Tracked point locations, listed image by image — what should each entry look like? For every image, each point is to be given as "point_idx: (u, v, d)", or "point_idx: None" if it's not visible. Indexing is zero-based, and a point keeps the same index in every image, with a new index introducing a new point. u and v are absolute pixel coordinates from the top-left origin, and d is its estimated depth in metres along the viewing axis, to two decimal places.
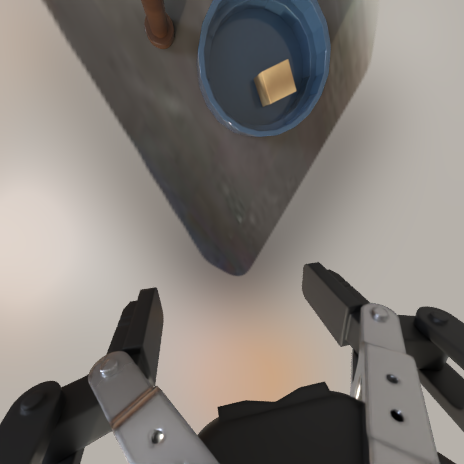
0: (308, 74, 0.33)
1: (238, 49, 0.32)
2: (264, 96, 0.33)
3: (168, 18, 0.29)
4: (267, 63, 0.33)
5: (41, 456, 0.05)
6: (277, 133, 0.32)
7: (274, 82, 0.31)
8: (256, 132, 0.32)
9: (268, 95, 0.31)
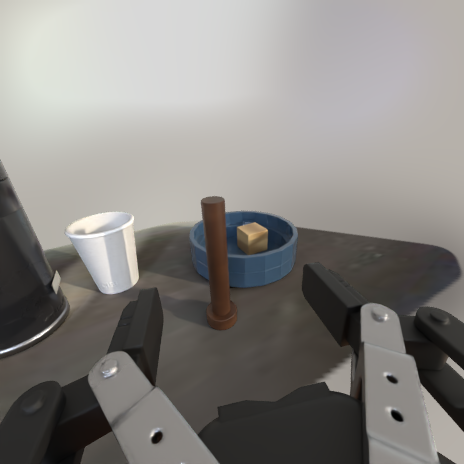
0: None
1: None
2: (262, 240, 0.39)
3: None
4: (235, 250, 0.41)
5: (41, 456, 0.05)
6: (289, 221, 0.39)
7: (253, 229, 0.39)
8: (293, 228, 0.37)
9: (262, 231, 0.38)
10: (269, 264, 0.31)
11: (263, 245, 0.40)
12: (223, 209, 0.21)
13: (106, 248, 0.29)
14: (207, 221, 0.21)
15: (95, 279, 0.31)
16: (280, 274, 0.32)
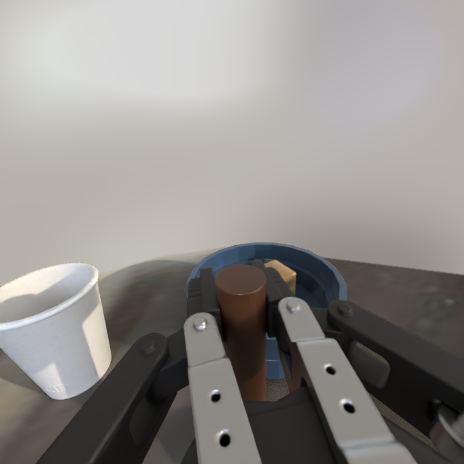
0: None
1: None
2: None
3: None
4: None
5: (142, 394, 0.07)
6: (323, 259, 0.28)
7: None
8: (336, 273, 0.26)
9: (289, 276, 0.27)
10: None
11: None
12: (265, 298, 0.10)
13: (45, 339, 0.17)
14: (231, 326, 0.10)
15: (34, 381, 0.19)
16: None
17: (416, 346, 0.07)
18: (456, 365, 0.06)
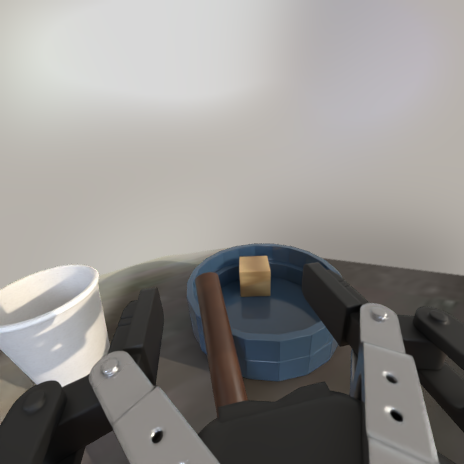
0: None
1: (246, 330, 0.25)
2: (261, 282, 0.29)
3: None
4: (251, 302, 0.29)
5: (42, 455, 0.05)
6: (324, 260, 0.28)
7: (252, 266, 0.30)
8: None
9: (261, 272, 0.29)
10: (317, 344, 0.19)
11: (263, 289, 0.30)
12: (215, 280, 0.20)
13: (46, 341, 0.17)
14: (199, 295, 0.19)
15: (35, 383, 0.19)
16: (330, 353, 0.21)
17: None
18: None
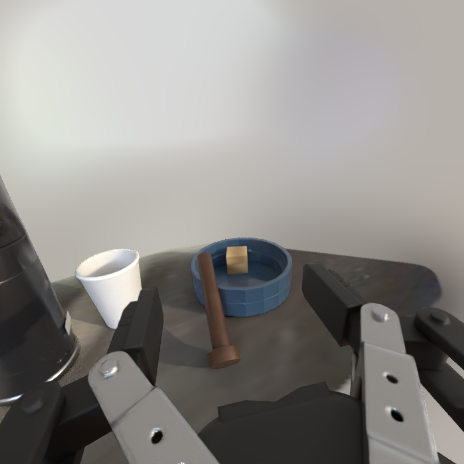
0: None
1: None
2: (241, 263, 0.43)
3: None
4: (234, 277, 0.43)
5: (41, 456, 0.05)
6: (283, 248, 0.42)
7: (235, 252, 0.44)
8: (288, 256, 0.39)
9: (241, 256, 0.42)
10: (267, 294, 0.33)
11: (243, 268, 0.44)
12: (208, 257, 0.34)
13: (115, 287, 0.30)
14: (199, 265, 0.33)
15: (103, 316, 0.33)
16: (278, 302, 0.35)
17: None
18: None
